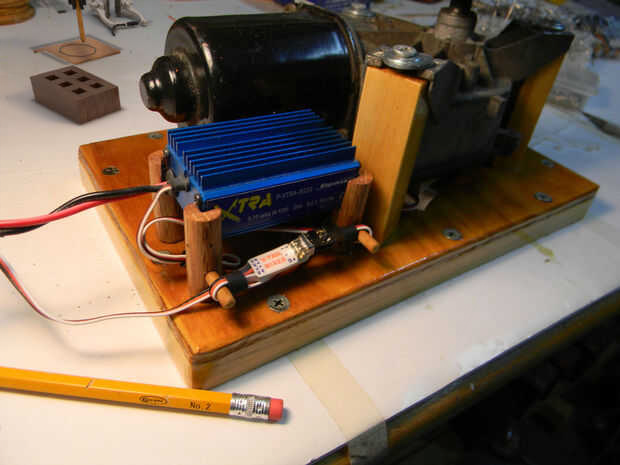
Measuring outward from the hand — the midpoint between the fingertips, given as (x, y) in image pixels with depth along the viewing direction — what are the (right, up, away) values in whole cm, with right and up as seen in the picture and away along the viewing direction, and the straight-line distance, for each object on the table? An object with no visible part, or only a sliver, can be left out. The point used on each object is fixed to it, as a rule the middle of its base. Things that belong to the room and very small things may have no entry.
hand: (78, 7), depth 113 cm
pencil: (-1, -6, +5) cm, 8 cm away
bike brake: (-1, +9, +28) cm, 29 cm away
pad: (-3, -8, +7) cm, 11 cm away
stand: (+8, -28, -15) cm, 33 cm away
